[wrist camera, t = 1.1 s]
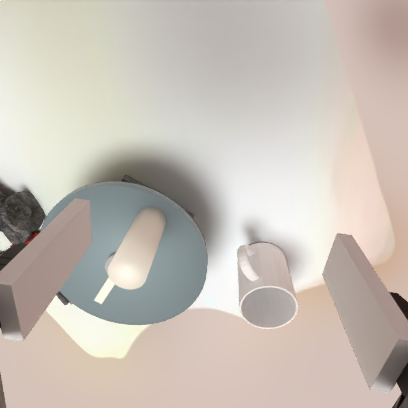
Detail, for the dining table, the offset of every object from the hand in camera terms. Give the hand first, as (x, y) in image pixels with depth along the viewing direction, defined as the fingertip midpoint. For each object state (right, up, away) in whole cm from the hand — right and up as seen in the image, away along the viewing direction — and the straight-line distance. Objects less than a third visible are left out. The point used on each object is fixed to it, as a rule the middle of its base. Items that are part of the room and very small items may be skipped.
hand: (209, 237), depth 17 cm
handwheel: (-11, -5, +25) cm, 28 cm away
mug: (+8, -6, +34) cm, 36 cm away
